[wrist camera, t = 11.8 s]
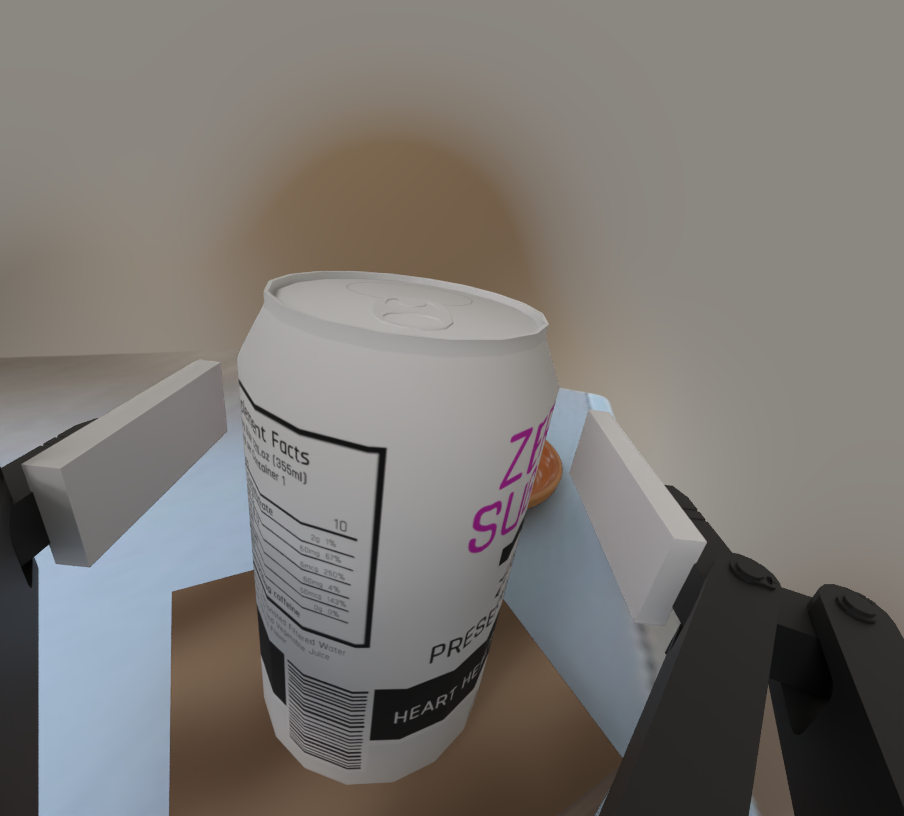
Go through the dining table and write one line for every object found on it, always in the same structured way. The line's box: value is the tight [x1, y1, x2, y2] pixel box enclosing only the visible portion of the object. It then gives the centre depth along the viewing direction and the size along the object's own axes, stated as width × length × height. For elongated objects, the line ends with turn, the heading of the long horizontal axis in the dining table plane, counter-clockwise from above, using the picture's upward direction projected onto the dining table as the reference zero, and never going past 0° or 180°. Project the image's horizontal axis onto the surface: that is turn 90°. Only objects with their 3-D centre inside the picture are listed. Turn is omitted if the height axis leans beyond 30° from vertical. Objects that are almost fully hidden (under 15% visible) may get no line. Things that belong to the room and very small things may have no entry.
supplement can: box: [237, 271, 559, 785], centre depth 14 cm, size 8×8×15 cm
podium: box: [169, 570, 623, 816], centre depth 18 cm, size 14×14×4 cm
